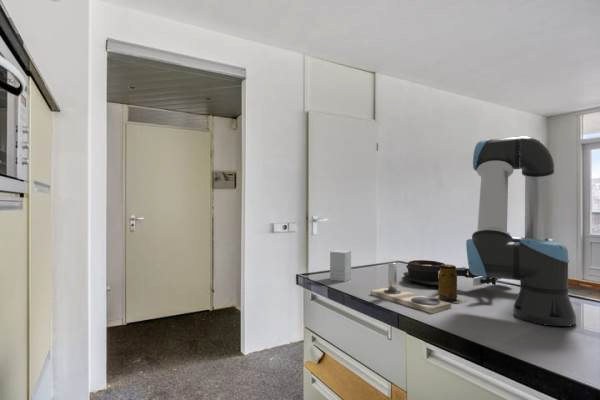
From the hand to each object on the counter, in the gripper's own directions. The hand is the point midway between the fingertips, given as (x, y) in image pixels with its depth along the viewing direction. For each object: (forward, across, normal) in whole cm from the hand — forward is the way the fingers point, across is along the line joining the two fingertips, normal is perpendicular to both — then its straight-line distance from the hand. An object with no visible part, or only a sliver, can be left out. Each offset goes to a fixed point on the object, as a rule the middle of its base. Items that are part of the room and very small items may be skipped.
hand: (455, 278), depth 124 cm
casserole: (-12, +21, -7) cm, 25 cm away
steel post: (+18, +13, -7) cm, 24 cm away
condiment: (+4, 0, -7) cm, 8 cm away
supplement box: (+17, +44, -7) cm, 48 cm away
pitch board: (+18, +6, -7) cm, 21 cm away
